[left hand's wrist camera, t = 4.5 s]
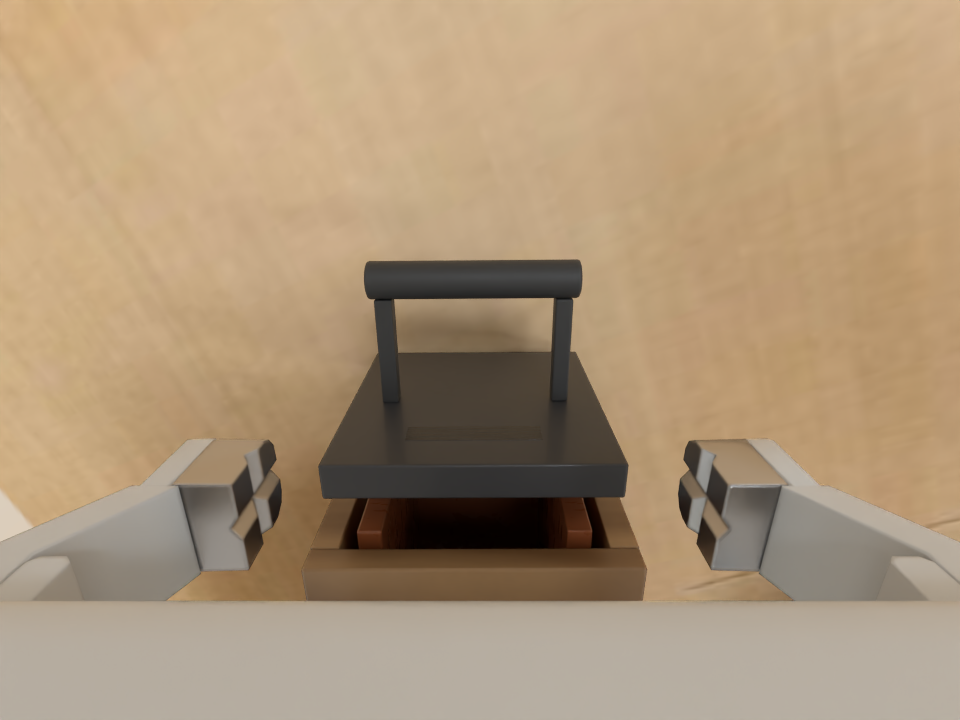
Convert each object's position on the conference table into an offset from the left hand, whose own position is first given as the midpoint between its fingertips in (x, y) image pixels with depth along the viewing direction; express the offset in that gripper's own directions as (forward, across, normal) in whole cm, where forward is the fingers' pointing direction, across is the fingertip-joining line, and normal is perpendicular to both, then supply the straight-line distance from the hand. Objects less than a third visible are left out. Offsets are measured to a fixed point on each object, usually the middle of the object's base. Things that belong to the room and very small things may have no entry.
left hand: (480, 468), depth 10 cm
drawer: (+14, 0, +8) cm, 16 cm away
